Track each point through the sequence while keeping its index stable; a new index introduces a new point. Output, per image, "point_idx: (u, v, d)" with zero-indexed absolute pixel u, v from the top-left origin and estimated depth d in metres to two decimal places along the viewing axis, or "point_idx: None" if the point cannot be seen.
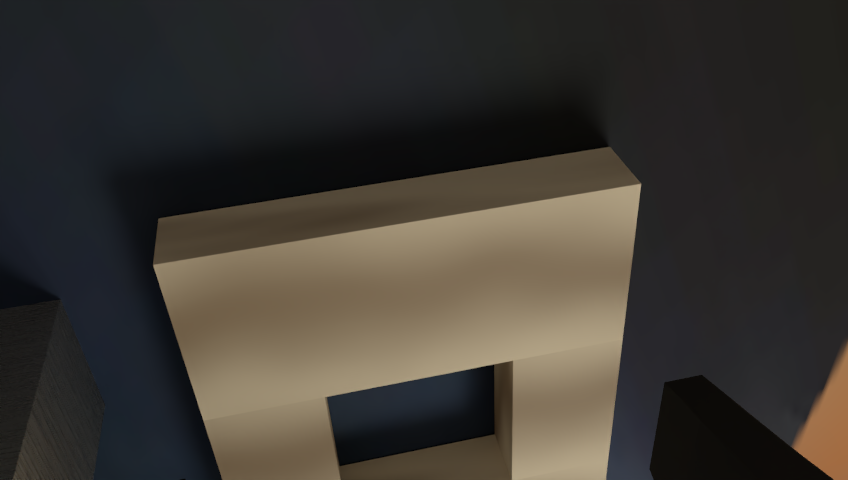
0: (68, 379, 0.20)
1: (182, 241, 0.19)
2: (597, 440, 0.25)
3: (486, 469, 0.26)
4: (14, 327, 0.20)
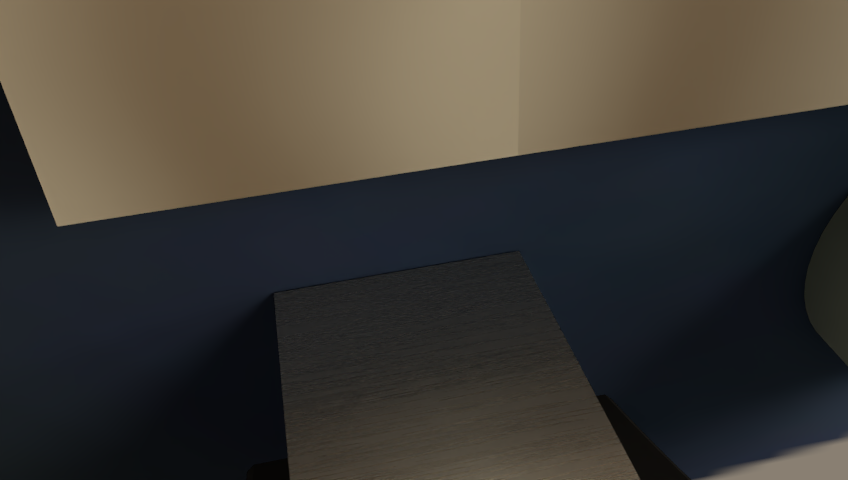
0: (378, 342, 0.11)
1: None
2: None
3: None
4: None
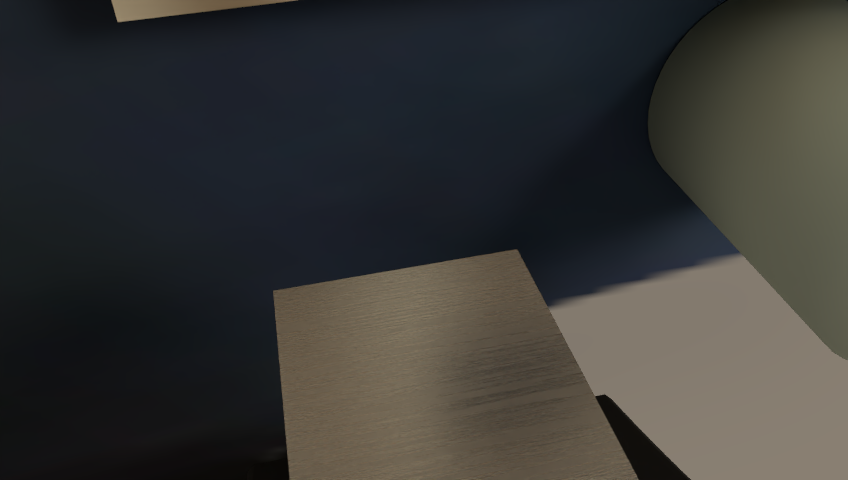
0: (377, 340, 0.11)
1: None
2: None
3: None
4: None
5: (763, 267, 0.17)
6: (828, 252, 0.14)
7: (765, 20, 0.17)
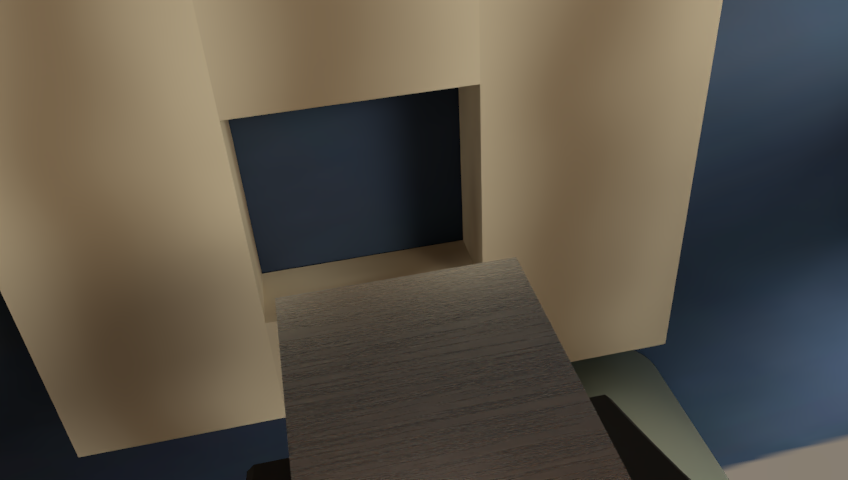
0: (378, 347, 0.12)
1: None
2: None
3: (472, 100, 0.17)
4: None
5: None
6: None
7: None
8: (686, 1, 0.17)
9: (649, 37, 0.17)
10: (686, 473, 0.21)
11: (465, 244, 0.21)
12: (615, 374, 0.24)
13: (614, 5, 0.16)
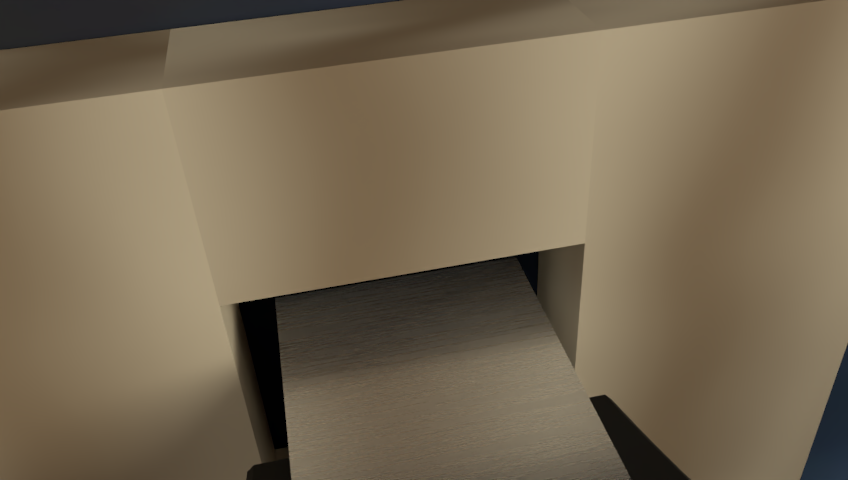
0: (377, 347, 0.12)
1: None
2: (514, 75, 0.10)
3: (567, 254, 0.13)
4: None
5: None
6: None
7: None
8: None
9: (819, 175, 0.12)
10: None
11: None
12: None
13: (777, 137, 0.11)
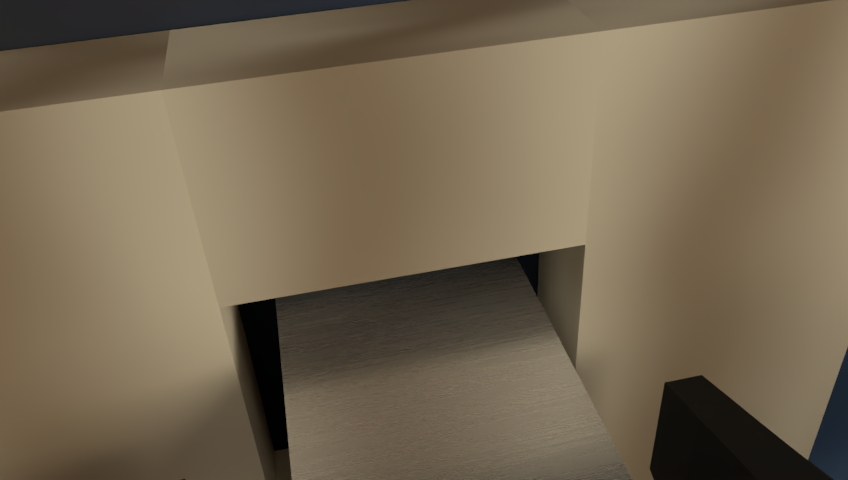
0: (368, 308, 0.12)
1: None
2: (515, 76, 0.10)
3: (567, 255, 0.13)
4: None
5: None
6: None
7: None
8: None
9: (820, 176, 0.12)
10: None
11: None
12: None
13: (778, 138, 0.11)
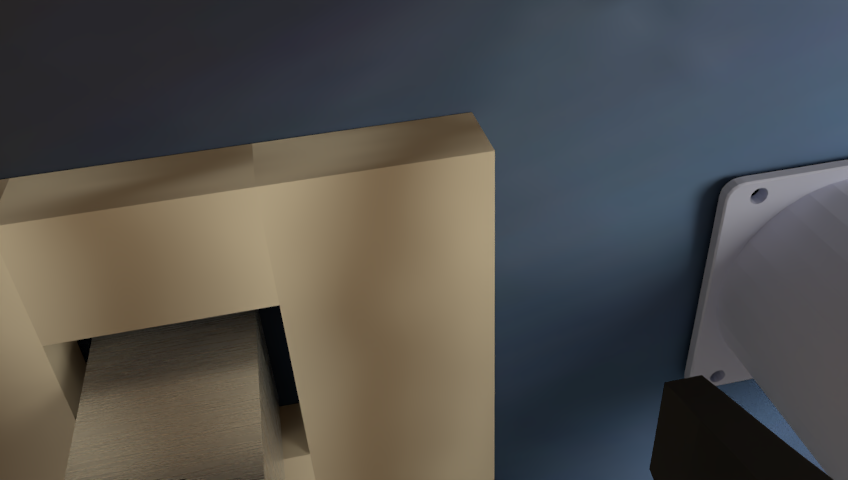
0: (148, 344, 0.19)
1: None
2: (205, 212, 0.17)
3: None
4: None
5: None
6: None
7: None
8: (460, 233, 0.19)
9: (431, 262, 0.19)
10: None
11: None
12: None
13: (393, 240, 0.18)
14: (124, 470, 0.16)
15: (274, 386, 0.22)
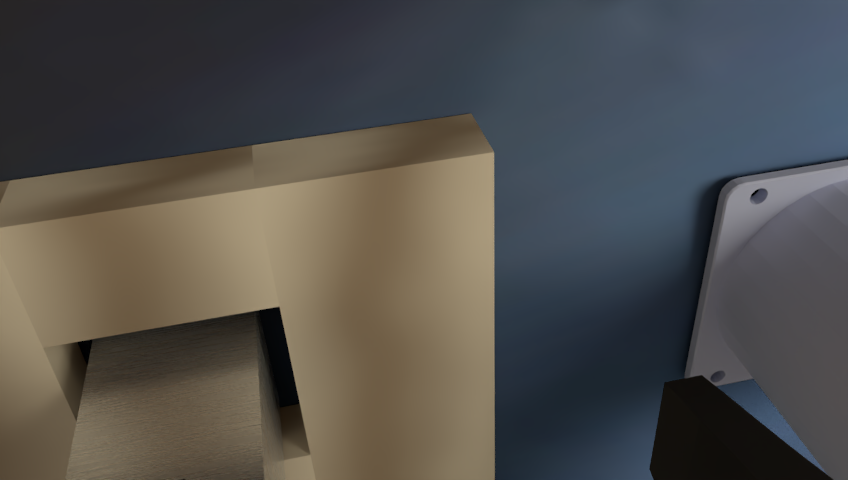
0: (149, 345, 0.19)
1: None
2: (205, 214, 0.17)
3: None
4: None
5: None
6: None
7: None
8: (460, 234, 0.19)
9: (431, 262, 0.19)
10: None
11: None
12: None
13: (393, 242, 0.18)
14: (124, 471, 0.16)
15: (274, 387, 0.22)
